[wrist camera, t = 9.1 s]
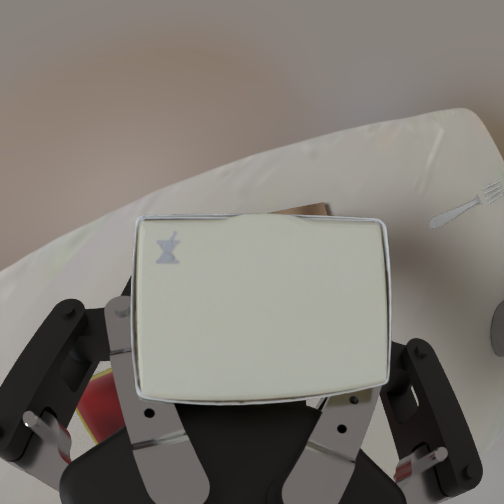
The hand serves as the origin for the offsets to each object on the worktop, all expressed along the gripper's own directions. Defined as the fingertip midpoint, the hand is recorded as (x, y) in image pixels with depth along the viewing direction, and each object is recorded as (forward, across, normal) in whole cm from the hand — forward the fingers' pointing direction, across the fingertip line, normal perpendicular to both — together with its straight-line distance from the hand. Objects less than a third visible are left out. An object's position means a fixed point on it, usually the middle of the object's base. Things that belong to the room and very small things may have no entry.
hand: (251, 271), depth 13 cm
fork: (+25, -32, +3) cm, 41 cm away
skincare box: (+3, 0, +5) cm, 6 cm away
